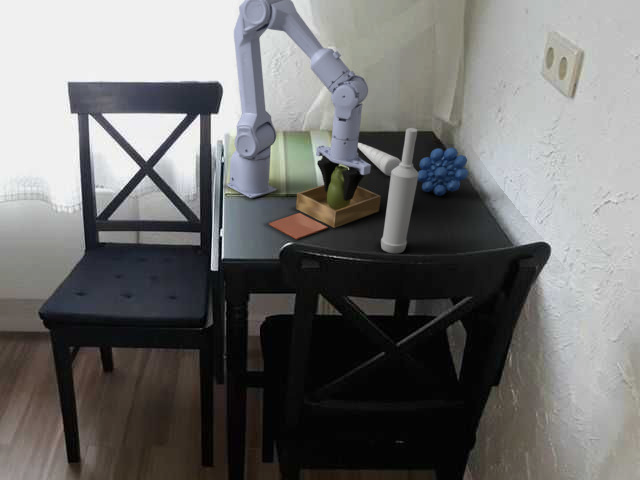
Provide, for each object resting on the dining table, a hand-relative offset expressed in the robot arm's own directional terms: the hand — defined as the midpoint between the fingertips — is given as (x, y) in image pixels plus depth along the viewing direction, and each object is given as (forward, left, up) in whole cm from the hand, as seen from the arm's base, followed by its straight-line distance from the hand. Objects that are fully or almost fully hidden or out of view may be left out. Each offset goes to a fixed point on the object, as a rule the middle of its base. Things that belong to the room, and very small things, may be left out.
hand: (338, 194), depth 168 cm
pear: (0, 0, -4) cm, 4 cm away
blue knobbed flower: (+8, +26, -4) cm, 27 cm away
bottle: (+20, -4, -4) cm, 21 cm away
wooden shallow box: (0, 0, -4) cm, 4 cm away
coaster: (+1, -13, -4) cm, 14 cm away
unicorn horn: (-16, +29, -4) cm, 33 cm away
